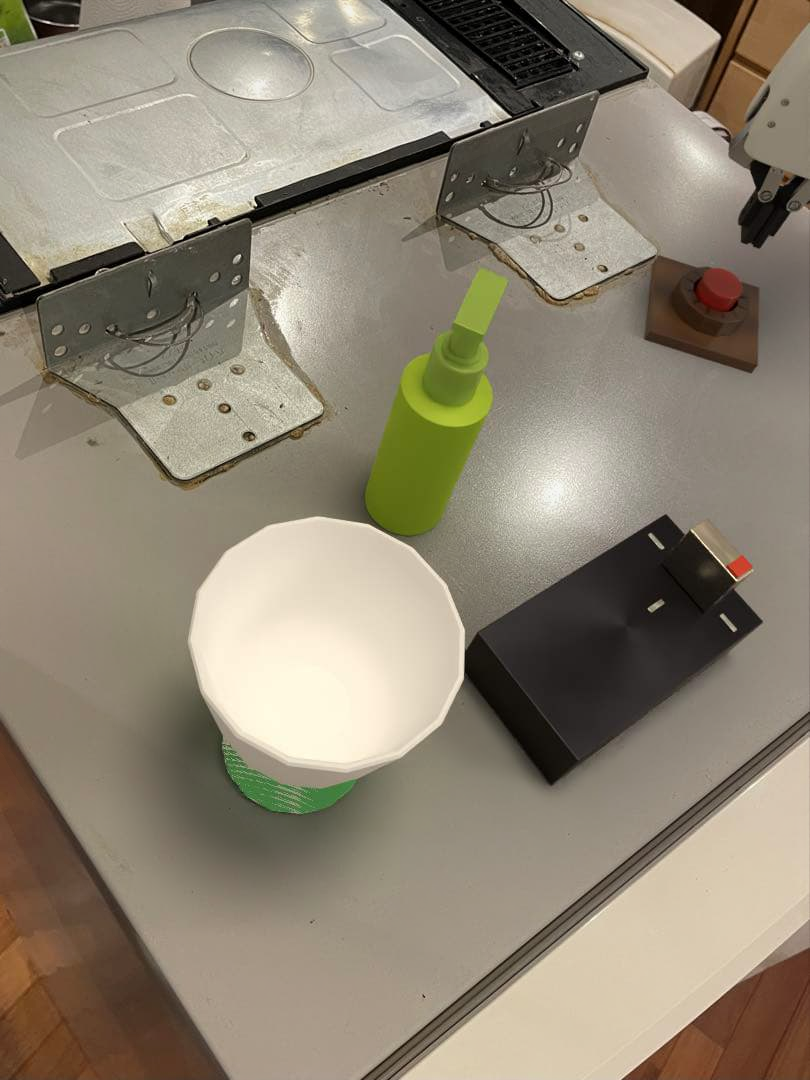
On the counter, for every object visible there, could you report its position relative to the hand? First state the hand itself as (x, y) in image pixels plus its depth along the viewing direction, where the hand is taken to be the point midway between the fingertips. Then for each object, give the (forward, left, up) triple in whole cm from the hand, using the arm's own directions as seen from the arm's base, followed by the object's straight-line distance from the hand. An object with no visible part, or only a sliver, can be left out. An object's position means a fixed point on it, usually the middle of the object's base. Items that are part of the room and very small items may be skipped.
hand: (750, 234), depth 81 cm
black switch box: (+18, +32, -10) cm, 38 cm away
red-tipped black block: (+12, +29, -5) cm, 32 cm away
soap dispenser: (+30, +19, -10) cm, 37 cm away
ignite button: (0, 0, -7) cm, 7 cm away
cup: (+40, +37, -10) cm, 55 cm away
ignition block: (0, 0, -10) cm, 10 cm away
